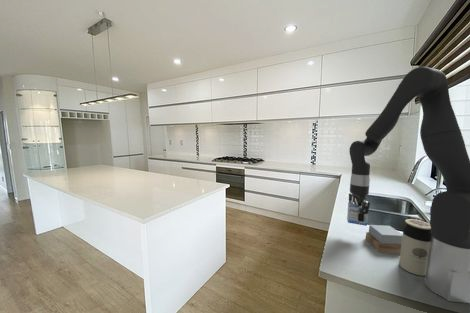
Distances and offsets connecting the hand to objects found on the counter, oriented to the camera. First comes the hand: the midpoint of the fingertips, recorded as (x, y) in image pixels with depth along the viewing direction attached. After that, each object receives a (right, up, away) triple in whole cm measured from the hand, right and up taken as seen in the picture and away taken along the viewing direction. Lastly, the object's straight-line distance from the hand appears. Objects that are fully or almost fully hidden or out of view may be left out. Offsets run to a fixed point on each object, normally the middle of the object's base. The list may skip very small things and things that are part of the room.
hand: (357, 218), depth 92 cm
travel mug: (+9, -13, -19) cm, 25 cm away
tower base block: (+9, -12, -4) cm, 15 cm away
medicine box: (0, -2, 0) cm, 2 cm away
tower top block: (+10, -8, -5) cm, 13 cm away
